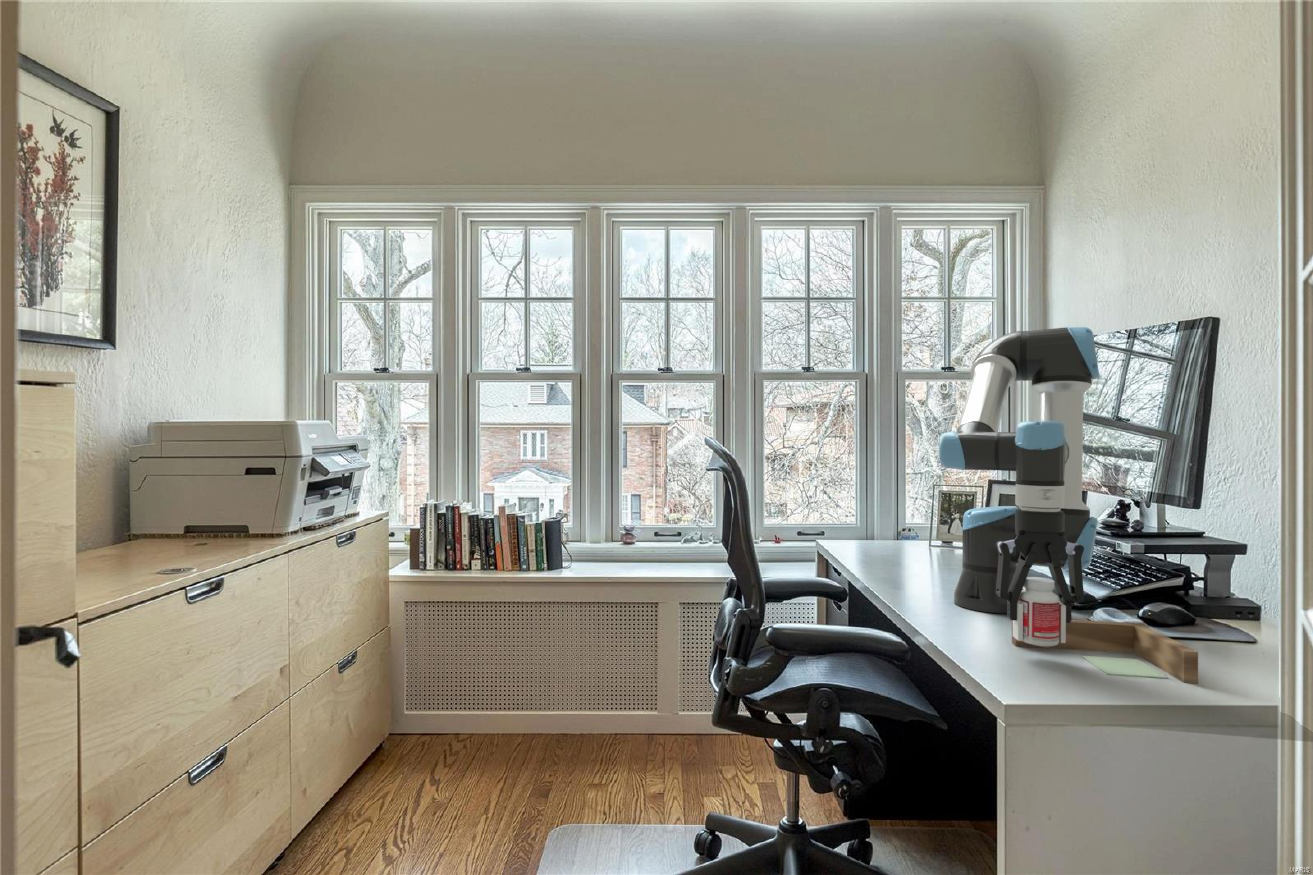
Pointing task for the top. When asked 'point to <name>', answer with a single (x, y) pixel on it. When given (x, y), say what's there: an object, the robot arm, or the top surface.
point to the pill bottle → (1040, 612)
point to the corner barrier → (1130, 645)
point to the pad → (1124, 667)
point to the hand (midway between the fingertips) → (1038, 639)
